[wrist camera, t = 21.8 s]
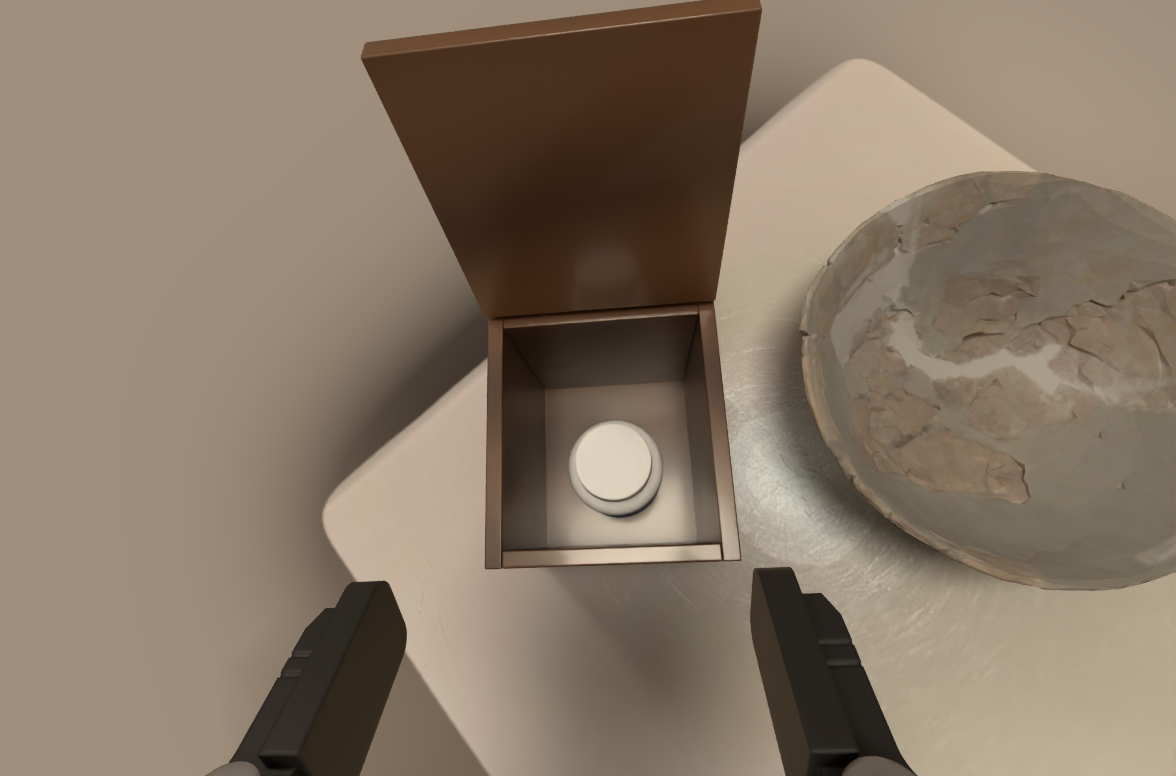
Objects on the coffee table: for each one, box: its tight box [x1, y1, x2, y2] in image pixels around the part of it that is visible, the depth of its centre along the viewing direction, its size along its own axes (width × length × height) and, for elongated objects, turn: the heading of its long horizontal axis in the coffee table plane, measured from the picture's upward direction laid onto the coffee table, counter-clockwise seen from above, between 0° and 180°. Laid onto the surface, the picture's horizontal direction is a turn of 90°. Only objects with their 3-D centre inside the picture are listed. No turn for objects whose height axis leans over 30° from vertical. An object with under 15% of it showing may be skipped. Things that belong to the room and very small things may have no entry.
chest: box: [485, 300, 741, 569], centre depth 32 cm, size 13×12×13 cm
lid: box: [361, 0, 762, 318], centre depth 22 cm, size 13×12×1 cm
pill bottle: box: [569, 420, 663, 518], centre depth 33 cm, size 6×5×10 cm
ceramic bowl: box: [799, 171, 1176, 591], centre depth 33 cm, size 22×23×10 cm
